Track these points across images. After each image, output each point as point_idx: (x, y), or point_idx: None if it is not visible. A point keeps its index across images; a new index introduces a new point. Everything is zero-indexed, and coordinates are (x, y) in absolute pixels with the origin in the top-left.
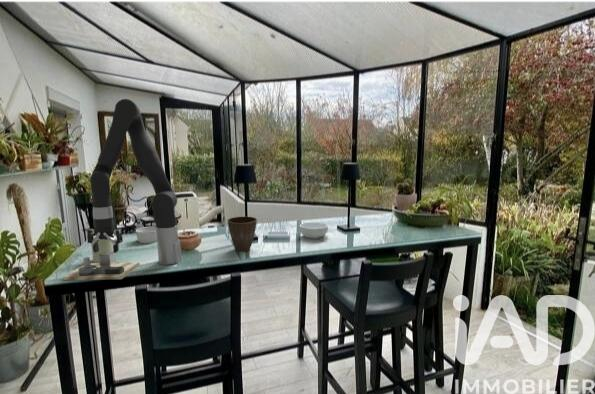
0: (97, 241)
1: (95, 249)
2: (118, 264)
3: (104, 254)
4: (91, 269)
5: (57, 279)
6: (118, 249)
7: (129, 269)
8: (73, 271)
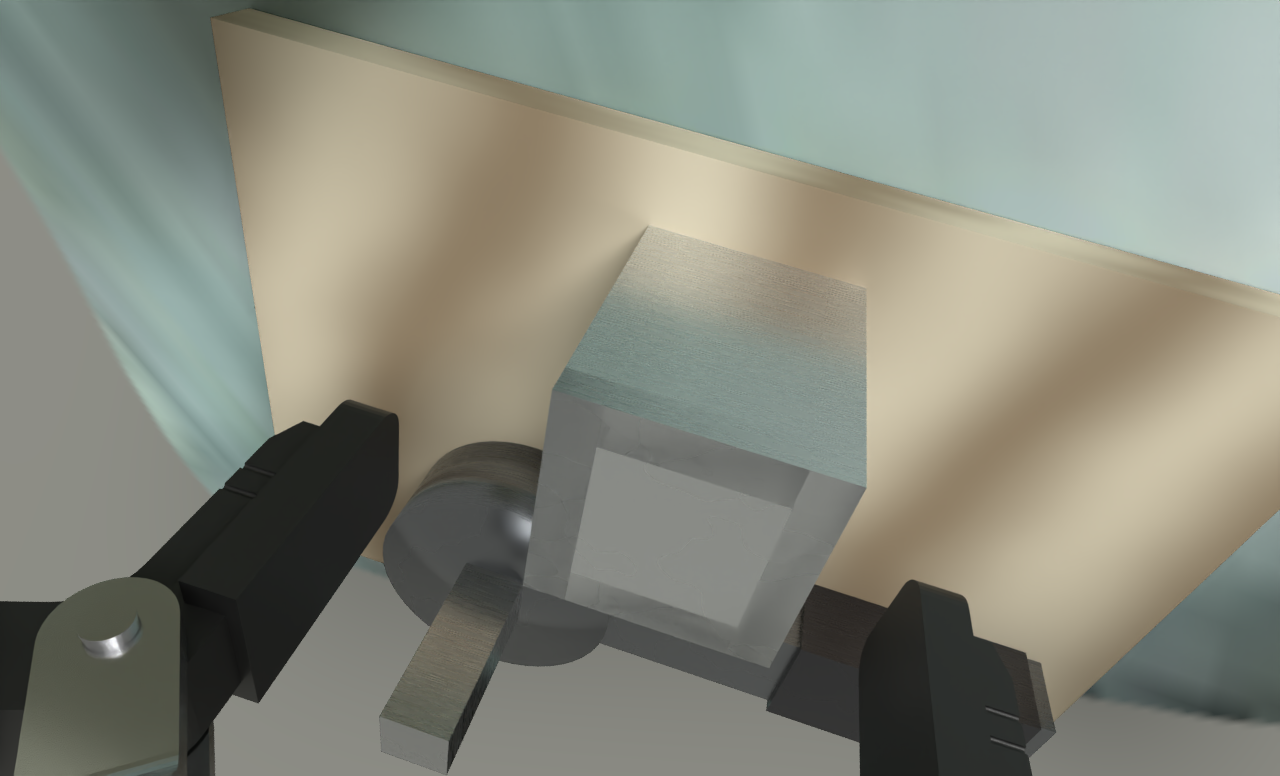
0: (172, 697)
1: (342, 571)
2: (913, 324)
3: (642, 606)
4: (580, 656)
5: (238, 467)
6: (1004, 699)
7: (1131, 625)
8: (281, 396)
